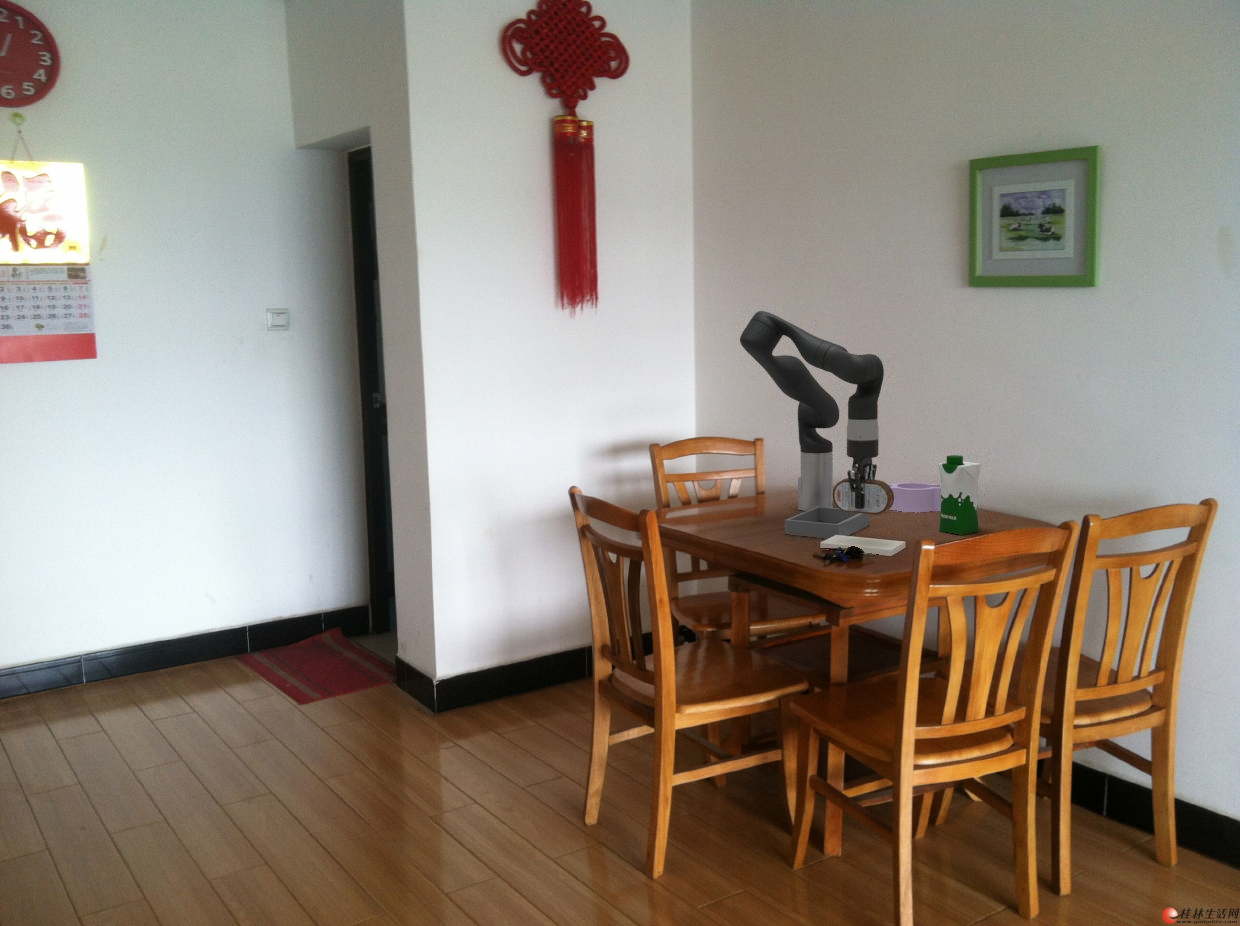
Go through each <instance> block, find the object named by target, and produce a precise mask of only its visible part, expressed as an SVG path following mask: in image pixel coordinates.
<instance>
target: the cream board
mask: <svg viewBox="0 0 1240 926" xmlns="http://www.w3.org/2000/svg"><path fill="white" fill-rule="evenodd" d="M851 546H855V547H858V548H860V549H862V550H863V551H864V552H867V553H872V554H871V555H876V554H879V555H878V556H887V557H888V556H889V557H892V556H893V555H896V554H897V553H899V552H901V551H902V550H904V549H906V541H903V540H901V541H900V540H894V539H893V540H892V539H881V538H872V537H871V538H870V537H864V536H863V537H861V536H853V535H852V536H850V535H849V536H843V535H835V536H833V537H831V538H829V539H824V540H822V541H820V544H819V547H820V548H838V547H841V548H848V547H851ZM820 548H819V549H820ZM867 553H866V554H867Z"/></svg>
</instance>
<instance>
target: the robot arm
mask: <svg viewBox="0 0 1240 926" xmlns="http://www.w3.org/2000/svg"><path fill="white" fill-rule="evenodd" d="M783 336H785V337H787V338H789V339H790V340H791V341H792V343H793V344H794V346H795V347H796V349H797V351H798V352H799V354H800V356H801V358H802V359H803V360H804V361H805V362H806V363H807V364H808V365H810V366H812V367H814V368H817V369H820V370H823V371H825V372H828V373H831V374H832V375H833V376H835V377H837V378H838V379H839V380H841V381H844V382H846V383H848V384H851V385H856V390H855V392H854V393H853V394H851V395H850V396H849V398H848V403H847V426H846V456H847V457H848V458H852V465H851V470H850V469H849V470H847V472H846V473H847V478H848V479H849V484H850V489H851V492H854V493H855V508H856V509H863V508H864V507H865V494H864V493H865V484H866V483H867V479H869V480H876V475H877V474H876V473H877V468H878V466H877V464H874V463H873V458H877V457H879V442H880V441H879V440H880V439H879V438H880V437H879V435H880V434H879V429H880V428H879V427H880V426H879V420H878V416H879V415H878V408H879V406H878V404H879V403H878V401H879V399H880V398H879V397H880V394H881V389H882V386H883V382H884V375H885V373H884V372H885V371H884V370H885V369H884V365H883V362H882V360H881V358H880V357H879V356H877V355H876V354H873V353H866V354H865V353H864V354H853V353H851V352H849V351H848V350H847V348H846V347H844V346H842V345H840V344H837V343H834V342H832V341H829V340H825V339H823V338H820V337H818V336H816V335H813V334H811V333H810V332H809V331H808V332H807V331H806V330H804V329H803V328H801V327H799V326H797V325H795V324H793V323H791V322H790V321H787V320H785V319H784V318H781V317H780V316H778V315H775V314H773V313H771V312H768V311H765V310H758V311H757V312H755V314H754V315H753V316H752V317H751V319H750V320H749V321H748V323H747V325H746V326H745V328H744V330H743V331H742V332H741V334H740V338H739V343H740V345H741V347H743V349H744V350H745V351H746V352H747V354H749V355H750V356H751V357H752V358H753V359H754V360H755V361H756V362H757V363H758V364H759V365H760V366H761V367H762V369H764V371H766V373H767V374H768V375H769V376H770V377H771V379H772V381H773V382H774V383H775V385H776V386H777V387H778V389H779V390H780V391H781V392H782V394H784V395H786V396H787V397H789V398H790V399H792V400H794V401H796V402H798V407H797V426H798V427H797V428H798V444H799V447H800V476H799V477H797V510H799V511H802V512H805V511H808V510H810V509H812V508H815V507H817V506H818V507H830V508H834V506H833V505H834V501H833V489H834V488H833V486H834V485H833V484H834V483H833V481H834V480H833V479H834V478H833V476H834V475H833V473H834V469H833V467H834V466H833V465H834V463H833V460H834V459H833V456H834V455H833V450H834V449H833V447H834V446H833V442H832V441H831V440H829V439H827V438H825V437H823V436H821V434H819V433H818V432H817V429H830V428H833V427H835V426H836V425H837V424H838V422H839V420H840V408H839V406H838V403H837V401H836V400H835V397H833V396H832V395H831V394H830V393H829V392H828V391H826V390H825V388H824V387H822V386H821V384H820V383H819V382H818V381H817V380H816V379H815V377H814V376H813V375H812V373H811V372H810V370H809V369H808V368H807V366H806V364H805V363H804V362H803V361H802V359H800V358H798V357H797V356H793V355H788V354H785V355H783V354H782V355H773V352H774V350H775V348H776V347H777V346H778V344H779V342H780V341H781V339H782V337H783ZM860 479H862V480H863V481H860ZM857 486H858V487H857Z"/></svg>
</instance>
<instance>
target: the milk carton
mask: <svg viewBox="0 0 1240 926" xmlns="http://www.w3.org/2000/svg"><path fill="white" fill-rule="evenodd" d="M981 469H982V463H979V462H971V461H964V456H963V455H960V454H959V455H958V454H957V455H956V454H954V455H953V454H951V455H950V454H949V455H946V462H940V463H939V462H938V470H939V474H940V488H941V512H939V513H940V515H939V529H938V530H939V532H943V533H946V532H948V533H947V534H951V533H954V534H953V535H956V534H959V535H958V536H962V535H961V534H965V535H970V534H973V533H972V532H975V533H979V530H980V529H979V519H978V501H979V500H978V498H979V497H978V496H979V495H978V494H979V493H978V492H979V489H978V487H979V486H978V485H979V476H980V472H981ZM969 533H970V534H969Z"/></svg>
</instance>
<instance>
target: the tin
mask: <svg viewBox="0 0 1240 926" xmlns="http://www.w3.org/2000/svg"><path fill="white" fill-rule="evenodd" d="M860 481H863V480H862V479H860ZM888 484H889V483H886V482H885V481H883V480H880V479H879V480H878V479H877V480H876V479H875V480H869V479H867V483H866V484H865V493H864V494H865V507H864V508H863V509H856V508H855V493H854V492H851V489H850V484H849V479H848V477H846V478H843V479H842V480H840V481H838V482H837V483H836V484H835V485H834V488H833V504H834V505H835V506H836V508H839V509H840V510H842V511H844V512H850V513H861V514H869V515H870V516H871V515H873V516H878V515H881V514H885V513H887V512H889V511H888V510H890V508H891V507H892V505H893V502H894V494H893V491H892V489H891V488H890V486H889V485H888ZM857 487H858V486H857Z"/></svg>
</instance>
